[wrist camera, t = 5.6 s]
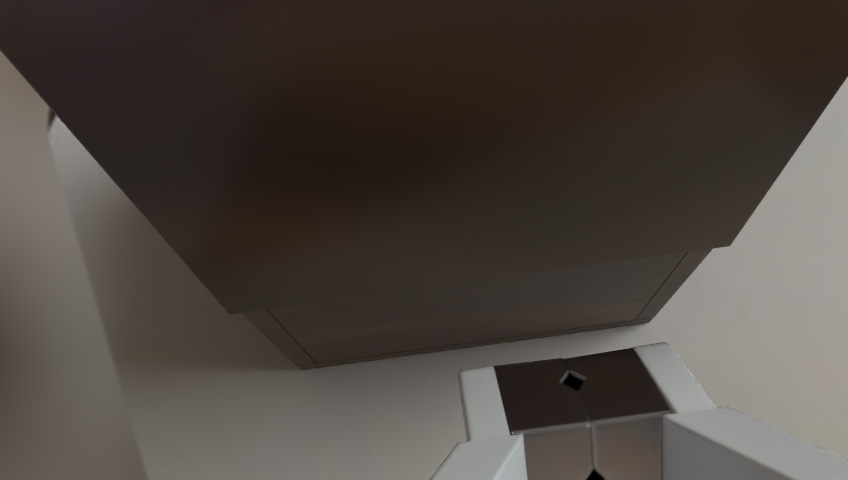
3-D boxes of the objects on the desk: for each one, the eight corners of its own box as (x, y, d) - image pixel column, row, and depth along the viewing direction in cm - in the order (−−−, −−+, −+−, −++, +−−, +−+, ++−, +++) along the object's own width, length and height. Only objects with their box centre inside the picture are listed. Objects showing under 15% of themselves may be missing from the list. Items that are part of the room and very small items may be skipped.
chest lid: (-48, -58, 10) (-62, -18, 9) (991, -207, 9) (1022, -172, 9) (229, 290, 20) (229, 315, 20) (721, 222, 20) (730, 246, 20)
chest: (289, 133, 33) (230, 6, 25) (589, 91, 33) (627, -51, 25) (301, 370, 29) (234, 307, 21) (649, 322, 28) (720, 240, 20)
